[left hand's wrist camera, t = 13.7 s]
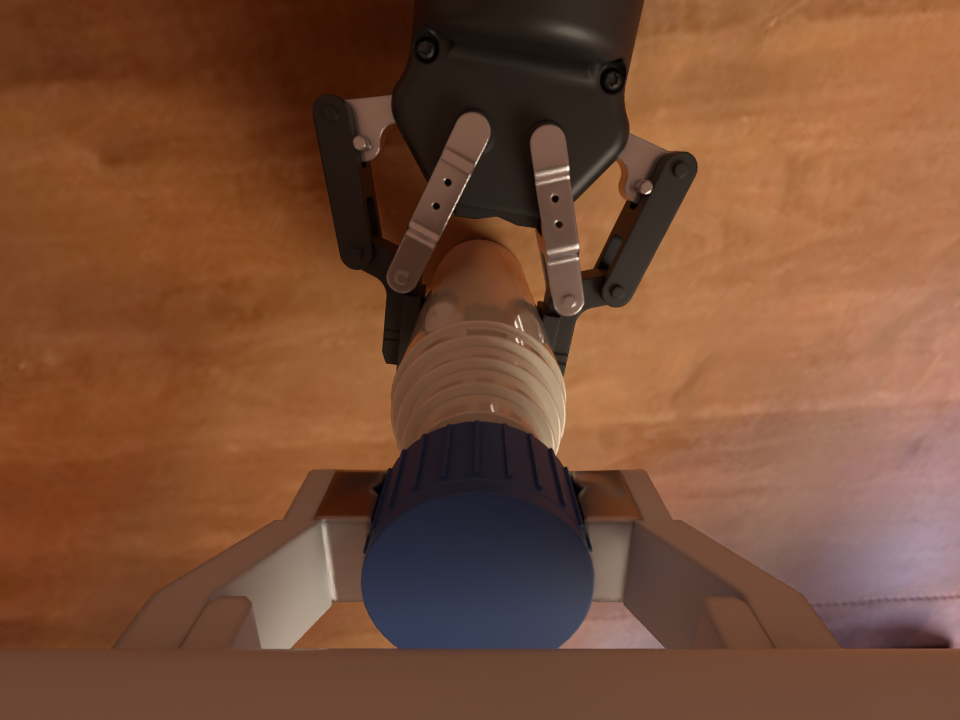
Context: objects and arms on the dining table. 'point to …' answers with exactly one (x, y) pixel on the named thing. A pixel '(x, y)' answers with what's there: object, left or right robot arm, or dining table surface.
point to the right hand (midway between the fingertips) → (471, 379)
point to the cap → (477, 544)
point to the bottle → (479, 353)
